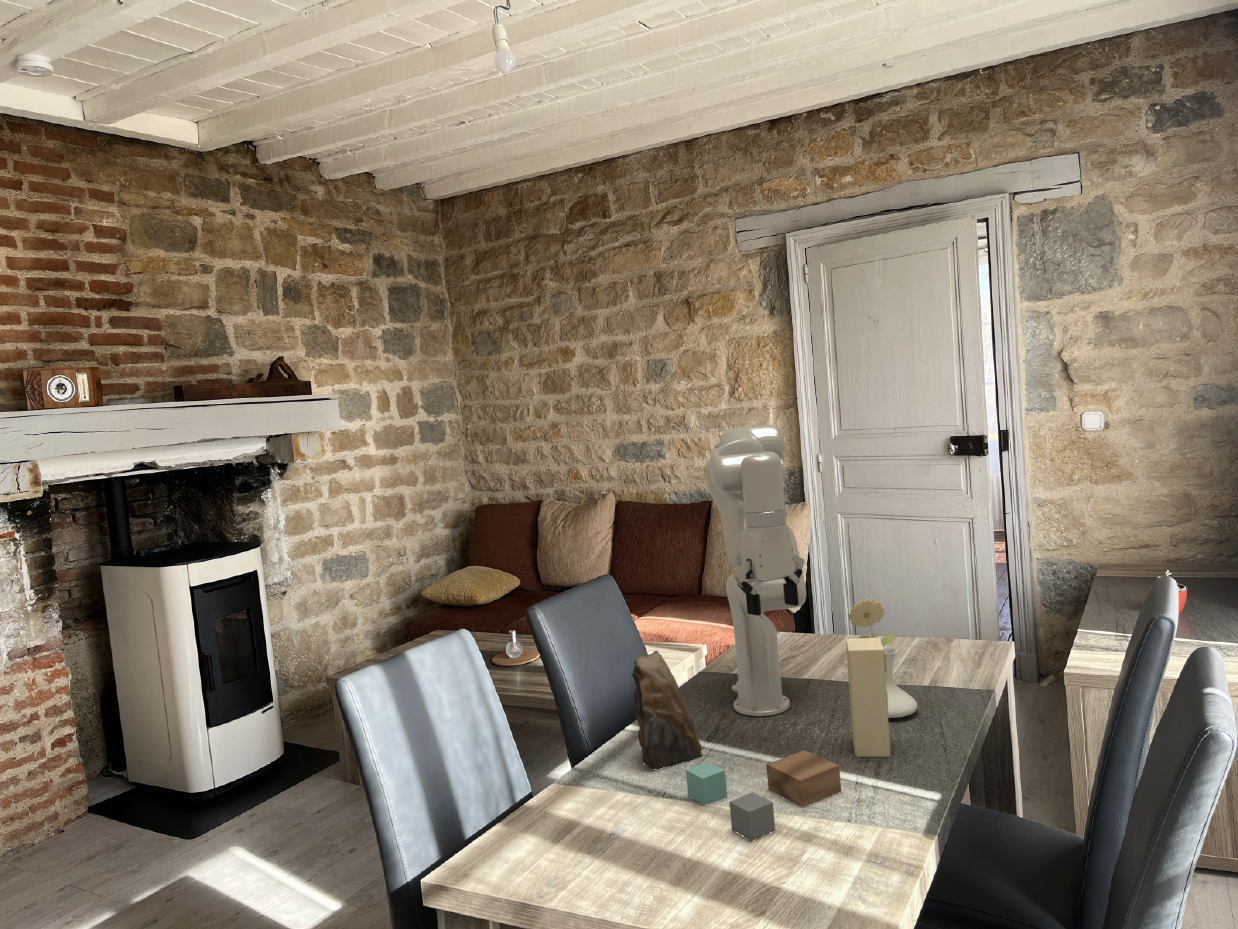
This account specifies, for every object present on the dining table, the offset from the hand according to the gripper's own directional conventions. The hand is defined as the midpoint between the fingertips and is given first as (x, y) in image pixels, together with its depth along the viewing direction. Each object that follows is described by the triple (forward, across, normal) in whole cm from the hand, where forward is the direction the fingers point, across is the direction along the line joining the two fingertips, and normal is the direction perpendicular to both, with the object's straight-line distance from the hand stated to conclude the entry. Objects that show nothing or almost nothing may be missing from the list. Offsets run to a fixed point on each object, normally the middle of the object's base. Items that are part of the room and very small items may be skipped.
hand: (773, 609), depth 166 cm
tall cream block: (+30, -17, +7) cm, 35 cm away
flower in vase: (+29, -33, -3) cm, 44 cm away
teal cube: (+30, +19, -1) cm, 36 cm away
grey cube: (+31, +22, +14) cm, 40 cm away
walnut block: (+31, +6, +10) cm, 33 cm away
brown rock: (+30, +13, -20) cm, 38 cm away
